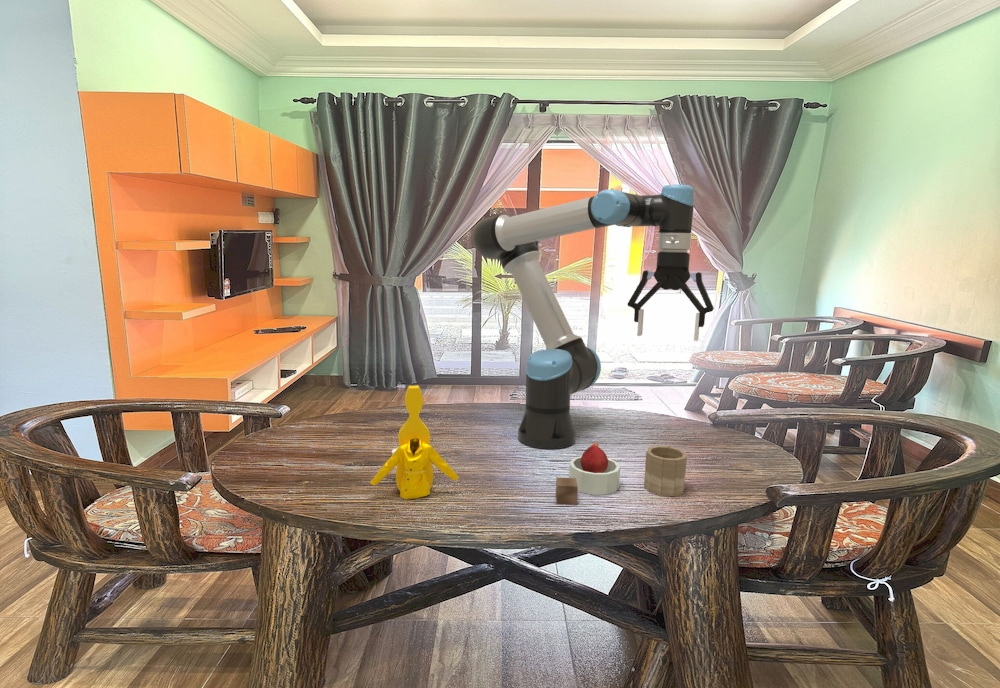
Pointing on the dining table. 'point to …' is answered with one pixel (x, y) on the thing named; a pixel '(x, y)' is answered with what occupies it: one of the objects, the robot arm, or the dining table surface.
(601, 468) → the onion
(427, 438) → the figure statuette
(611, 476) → the bowl
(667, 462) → the canister
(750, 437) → the dining table surface
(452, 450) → the dining table surface
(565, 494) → the walnut block
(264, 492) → the dining table surface
